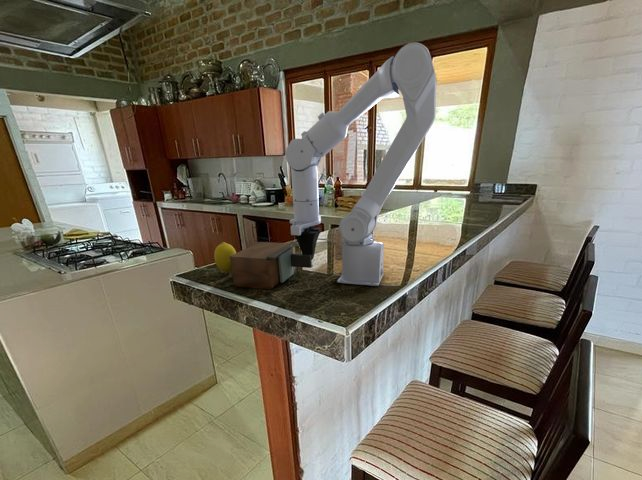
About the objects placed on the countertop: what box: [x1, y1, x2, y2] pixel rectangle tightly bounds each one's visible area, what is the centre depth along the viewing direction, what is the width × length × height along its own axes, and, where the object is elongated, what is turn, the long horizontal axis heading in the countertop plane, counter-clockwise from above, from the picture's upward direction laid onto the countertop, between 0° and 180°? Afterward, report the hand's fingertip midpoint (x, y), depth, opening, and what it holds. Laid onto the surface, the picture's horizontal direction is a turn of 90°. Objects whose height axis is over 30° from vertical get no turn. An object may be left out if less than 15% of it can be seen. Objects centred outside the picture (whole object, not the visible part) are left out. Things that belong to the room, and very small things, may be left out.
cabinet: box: [230, 241, 299, 290], centre depth 79 cm, size 11×14×7 cm
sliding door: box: [278, 248, 313, 284], centre depth 78 cm, size 6×7×6 cm
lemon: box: [213, 241, 237, 274], centre depth 84 cm, size 6×6×8 cm
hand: (308, 259), depth 81 cm, fingers closed
